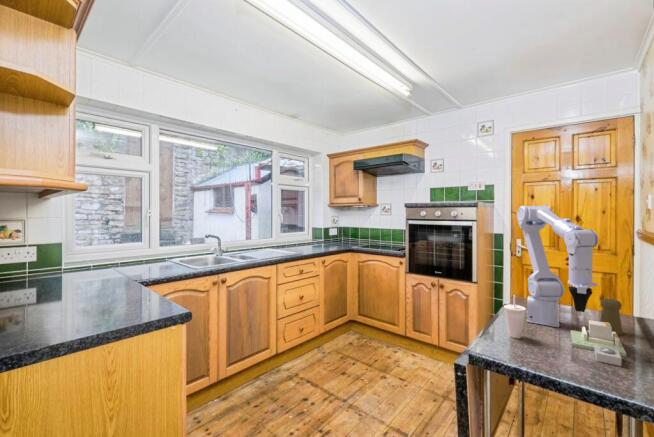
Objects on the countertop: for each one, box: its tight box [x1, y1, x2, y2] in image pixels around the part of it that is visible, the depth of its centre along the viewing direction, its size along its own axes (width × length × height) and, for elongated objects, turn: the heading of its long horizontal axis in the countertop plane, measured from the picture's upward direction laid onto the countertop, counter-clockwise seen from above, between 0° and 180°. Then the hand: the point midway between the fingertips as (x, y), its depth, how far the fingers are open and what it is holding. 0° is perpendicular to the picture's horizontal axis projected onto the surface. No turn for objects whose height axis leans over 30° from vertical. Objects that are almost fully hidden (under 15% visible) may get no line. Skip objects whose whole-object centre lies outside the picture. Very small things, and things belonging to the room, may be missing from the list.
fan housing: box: [593, 345, 622, 367], centre depth 86 cm, size 5×6×3 cm
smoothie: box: [503, 294, 527, 339], centre depth 102 cm, size 6×6×14 cm
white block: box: [588, 319, 612, 341], centre depth 96 cm, size 5×4×5 cm
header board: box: [569, 326, 627, 358], centre depth 95 cm, size 12×12×3 cm
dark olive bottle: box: [599, 298, 624, 336], centre depth 104 cm, size 6×6×11 cm
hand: (579, 310), depth 96 cm, fingers closed
